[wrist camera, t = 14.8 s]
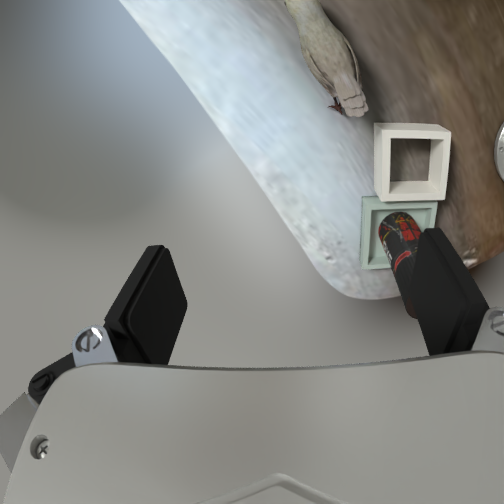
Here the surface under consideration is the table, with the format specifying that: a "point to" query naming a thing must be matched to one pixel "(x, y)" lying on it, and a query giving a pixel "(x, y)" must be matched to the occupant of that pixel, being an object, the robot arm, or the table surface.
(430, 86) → the table surface
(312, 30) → the decorative bird
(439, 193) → the holder
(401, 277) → the deodorant
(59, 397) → the robot arm
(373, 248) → the tray
